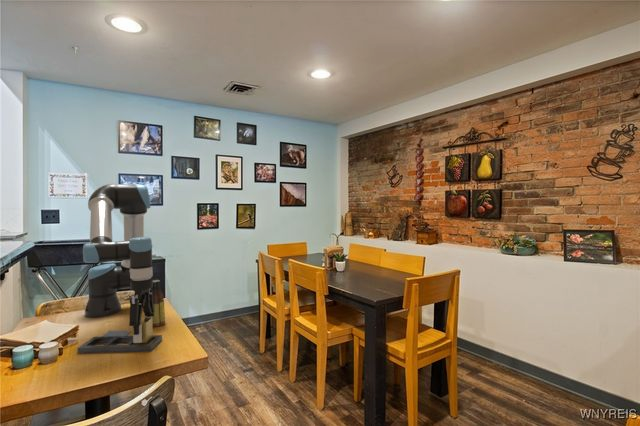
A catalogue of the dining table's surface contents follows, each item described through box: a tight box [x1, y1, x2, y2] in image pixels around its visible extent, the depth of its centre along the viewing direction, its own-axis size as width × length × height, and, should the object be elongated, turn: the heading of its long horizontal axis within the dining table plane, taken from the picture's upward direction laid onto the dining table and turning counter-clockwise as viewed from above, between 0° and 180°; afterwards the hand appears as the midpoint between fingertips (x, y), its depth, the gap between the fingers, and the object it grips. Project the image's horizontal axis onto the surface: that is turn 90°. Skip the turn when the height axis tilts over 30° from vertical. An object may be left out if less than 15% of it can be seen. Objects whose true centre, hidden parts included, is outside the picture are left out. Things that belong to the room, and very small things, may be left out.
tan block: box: [133, 317, 154, 345], centre depth 128 cm, size 5×5×10 cm
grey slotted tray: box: [76, 334, 163, 354], centre depth 128 cm, size 10×26×2 cm, turn 93°
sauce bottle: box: [150, 279, 166, 328], centre depth 150 cm, size 7×6×20 cm
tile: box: [100, 329, 132, 337], centre depth 138 cm, size 9×9×1 cm
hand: (143, 337), depth 128 cm, fingers open, 8 cm apart
